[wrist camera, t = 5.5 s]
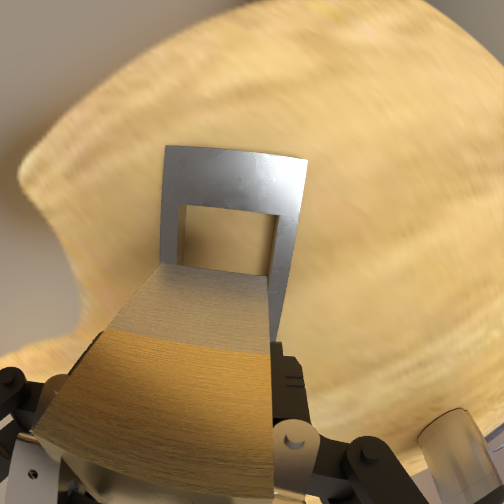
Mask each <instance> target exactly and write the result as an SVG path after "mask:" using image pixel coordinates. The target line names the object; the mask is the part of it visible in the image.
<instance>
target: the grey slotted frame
mask: <svg viewBox="0 0 504 504" xmlns="http://www.w3.org/2000/svg"><path fill="white" fill-rule="evenodd" d="M307 162H308V160H304V159H298V158H292V157H285V156H278V155H271V154H263V153H255V152H247V151H238V150H228V149H217V148H204V147H189V146H168V145H166V148H165V159H164V171H163V184H162V201H161V226H160V264H161V263H166V264H173V265H180V266H183V260H184V236H185V218H186V204H187V205H197V206H206V207H216V208H225V209H233V210H242V211H250V212H258V213H266V214H274V215H277V217H276V224H275V230H274V237H273V244H272V250H271V257H270V263H269V269H268V276H267V291H268V314H269V337H270V341H276V336H277V332H278V327H279V322H280V317H281V312H282V307H283V302H284V297H285V292H286V287H287V282H288V277H289V271H290V266H291V261H292V255H293V249H294V244H295V238H296V232H297V226H298V220H299V214H300V208H301V202H302V196H303V189H304V183H305V176H306V169H307Z"/></svg>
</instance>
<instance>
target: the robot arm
mask: <svg viewBox="0 0 504 504" xmlns="http://www.w3.org/2000/svg"><path fill="white" fill-rule="evenodd" d="M103 332H104V331H102V332H100V333H99V334H98V335H97V336H96V338H95V339H94V340H93V341H92V343H91V344H90V345H89V347H88V348H87V350H85V352H84V353H83V354H82V356H81V357H80V358H79V360H78V361H77V362H76V363H75V365H74V366H73V367H72V369H71V370H70V371H69V373H68V374H59V375H55V376H53V377H51V378H49V379H48V380H47V381H46V382H45V383H38V382H32V381H27V380H26V377H25V375H24V373H23V372H22V371H21V370H20V369H19V368H16V367H6V368H3V369H2V370H0V421H1V420H2V419H3V418H5V417H6V416H7V415H8V414H11V416H12V418H13V419H14V420H12V421H11V422H10V423H9V424H7V425H6V426H5V427H4V428H3V429H1V430H0V483H1V482H2V481H3V480H4V479H5V478H6V477H7V476H8V482H7V489H6V496H5V504H104V503H103V502H102V501H101V500H100V499H99V498H98V497H97V496H96V495H95V494H94V493H93V492H92V491H91V490H90V489H89V488H88V487H87V486H86V485H85V484H84V483H83V482H82V481H81V480H80V478H79V477H78V476H77V475H76V474H75V473H74V472H73V470H72V469H71V468H70V467H69V466H68V465H67V463H66V462H65V461H64V460H63V458H62V457H61V456H59V455H57V454H55V453H53V452H51V451H50V450H48V449H46V448H44V447H42V445H41V444H40V443H39V441H38V440H37V439H36V437H35V436H34V435H33V433H32V431H33V429H34V428H35V426H36V425H37V423H38V421H39V420H40V418H41V417H42V415H43V414H44V412H45V411H46V409H47V408H48V406H49V405H50V403H51V402H52V401H53V399H54V398H55V396H56V395H57V393H58V392H59V391H60V389H61V388H62V386H63V385H64V383H65V382H66V381H67V379H68V378H69V377H70V375H71V374H72V372H73V371H74V370H75V368H76V367H77V366H78V364H79V363H80V362H81V360H82V359H83V358H84V356H85V355H86V354H87V352H88V351H89V350H90V348H91V347H92V346H93V344H94V343H95V342H96V341H97V339H98V338H99V337H100V335H101V334H102V333H103ZM270 363H271V391H272V424H273V465H274V500H273V502H272V503H271V504H306V502H305V496H306V494H308V495H312V496H317V497H319V498H320V500H321V502H322V504H429V503H428V501H427V500H426V499H425V497H424V496H423V494H422V493H421V492H420V490H419V489H418V487H417V486H416V484H415V483H414V482H413V480H412V479H411V477H410V476H409V475H408V473H407V472H406V470H405V469H404V468H403V466H402V465H401V463H400V462H399V460H398V459H397V458H396V456H395V455H394V453H393V452H392V451H391V449H390V448H389V446H388V445H387V444H386V443H385V442H384V441H382V440H381V439H379V438H377V437H373V436H362V437H359V438H357V439H355V440H353V441H352V442H351V443H350V444H349V443H344V442H340V441H335V440H331V439H328V438H325V437H323V436H322V435H320V434H319V433H318V431H317V430H316V429H315V428H314V427H313V426H312V424H311V421H310V415H309V409H308V402H307V396H306V390H305V384H304V379H303V372H302V366H301V365H300V364H299V362H298V361H297V359H296V358H295V357H292V356H283V349H282V342H275V341H270ZM418 443H419V445H420V448H421V450H422V453H423V455H424V458H425V460H426V463H427V465H428V468H429V470H430V473H431V475H432V478H433V481H434V483H435V486H436V489H437V492H438V494H439V497H440V500H441V503H442V504H502V503H503V502H504V485H503V482H502V480H501V478H500V476H499V474H498V471H497V469H496V468H495V465H494V463H493V461H492V460H491V458H490V456H489V454H488V451H489V446H488V444H487V442H486V440H485V439H484V437H483V435H482V433H481V431H480V430H479V428H478V426H477V425H476V423H475V421H474V419H473V418H472V416H471V415H470V413H469V411H464V410H463V409H456V410H453V411H450V412H448V413H446V414H445V415H443V416H441V417H440V418H438V419H437V420H435V421H434V422H433V423H431V424H430V425H429V426H428V427H427V428H426V429H425V430H424V431H423V432H422V433H421V434H420V436H419V438H418Z"/></svg>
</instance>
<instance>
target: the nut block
mask: <svg viewBox="0 0 504 504" xmlns="http://www.w3.org/2000/svg"><path fill="white" fill-rule="evenodd" d="M32 433H33V435H34V436H35V437H36V439H37V440H38V441H39V443H40V444H41V445H42V447H44V448H46V449H48V450H50V451H51V452H53V453H55V454H57V455H59V456H61V457H62V458H63V460H64V461H65V462H66V463H67V465H68V466H69V467H70V468H71V469H72V470H73V472H74V473H75V474H76V475H77V476H78V477H79V478H80V480H81V481H82V482H83V483H84V484H85V485H86V486H87V487H88V488H89V489H90V490H91V491H92V492H93V493H94V494H95V495H96V496H97V497H98V498H99V499H100V500H101V501H102V502H103V503H104V504H271V503H272V502H273V500H274V465H273V424H272V391H271V363H270V337H269V314H268V291H267V277H266V276H258V275H249V274H241V273H233V272H226V271H218V270H210V269H203V268H195V267H188V266H180V265H173V264H166V263H161V264H160V265H159V266H158V267H157V268H156V269H155V270H154V272H153V273H152V274H151V275H150V276H149V277H148V279H147V280H146V281H145V282H144V283H143V284H142V286H141V287H140V288H139V289H138V290H137V291H136V293H135V294H134V295H133V296H132V297H131V299H130V300H129V301H128V302H127V303H126V305H125V306H124V307H123V308H122V309H121V311H120V312H119V313H118V314H117V315H116V317H115V318H114V319H113V320H112V322H111V323H110V324H109V325H108V327H107V328H106V329H105V330H104V332H103V333H102V334H101V335H100V337H99V338H98V339H97V341H96V342H95V343H94V344H93V346H92V347H91V348H90V350H89V351H88V352H87V354H86V355H85V356H84V358H83V359H82V360H81V362H80V363H79V364H78V366H77V367H76V368H75V370H74V371H73V372H72V374H71V375H70V377H69V378H68V379H67V381H66V382H65V383H64V385H63V386H62V388H61V389H60V391H59V392H58V393H57V395H56V396H55V398H54V399H53V401H52V402H51V403H50V405H49V406H48V408H47V409H46V411H45V412H44V414H43V415H42V417H41V418H40V420H39V421H38V423H37V425H36V426H35V428H34V429H33V431H32Z"/></svg>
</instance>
